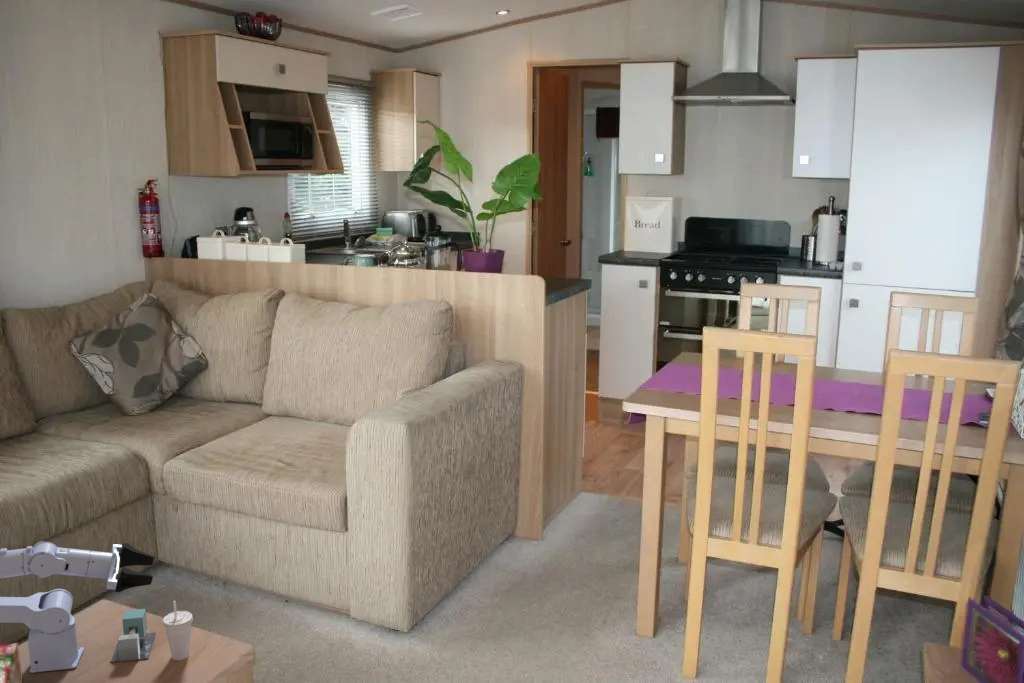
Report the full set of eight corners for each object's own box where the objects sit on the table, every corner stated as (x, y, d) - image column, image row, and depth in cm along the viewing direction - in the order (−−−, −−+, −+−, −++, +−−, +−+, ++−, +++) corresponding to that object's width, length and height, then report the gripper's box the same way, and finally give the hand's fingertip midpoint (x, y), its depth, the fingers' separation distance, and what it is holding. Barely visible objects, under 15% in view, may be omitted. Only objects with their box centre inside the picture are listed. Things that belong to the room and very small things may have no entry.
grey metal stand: (110, 663, 201) (108, 641, 200) (120, 636, 212) (118, 615, 210) (148, 659, 203) (146, 637, 202) (156, 633, 213) (154, 612, 212)
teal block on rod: (124, 638, 207) (122, 619, 206) (127, 629, 211) (125, 610, 210) (144, 636, 208) (142, 617, 207) (147, 627, 212) (145, 608, 211)
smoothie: (159, 658, 203) (155, 603, 200) (181, 645, 208) (177, 590, 205) (179, 666, 200) (175, 610, 197) (201, 652, 206) (197, 597, 202)
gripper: (89, 567, 192) (155, 574, 197) (95, 530, 205) (157, 537, 210) (82, 594, 194) (148, 600, 199) (89, 556, 206) (150, 563, 212)
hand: (152, 570), depth 205 cm, fingers open, 7 cm apart
